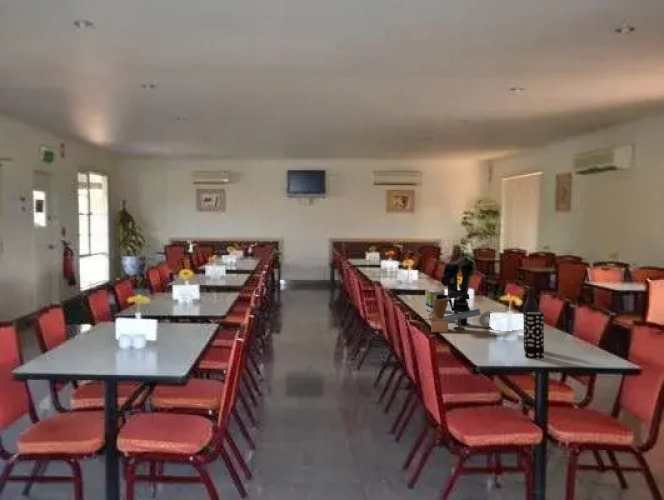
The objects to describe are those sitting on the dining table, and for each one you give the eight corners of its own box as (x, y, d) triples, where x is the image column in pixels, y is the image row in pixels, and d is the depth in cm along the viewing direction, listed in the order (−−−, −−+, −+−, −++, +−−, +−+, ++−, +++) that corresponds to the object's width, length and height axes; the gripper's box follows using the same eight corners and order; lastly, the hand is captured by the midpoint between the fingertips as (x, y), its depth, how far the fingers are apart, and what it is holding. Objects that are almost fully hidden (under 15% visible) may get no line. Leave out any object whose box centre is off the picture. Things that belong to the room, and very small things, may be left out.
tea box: (425, 310, 473) (424, 289, 472) (439, 309, 474) (438, 288, 473) (430, 313, 458) (430, 291, 457) (444, 312, 459) (444, 290, 459)
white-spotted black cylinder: (522, 355, 309) (521, 312, 309) (539, 354, 310) (539, 311, 309) (528, 359, 301) (528, 314, 300) (546, 358, 302) (546, 314, 301)
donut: (494, 327, 392) (494, 310, 392) (496, 327, 389) (496, 310, 389) (477, 327, 391) (477, 310, 390) (480, 328, 387) (480, 311, 387)
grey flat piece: (478, 311, 392) (477, 306, 392) (480, 315, 376) (479, 309, 376) (443, 318, 395) (442, 313, 395) (444, 322, 379) (442, 317, 379)
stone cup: (449, 321, 418) (449, 297, 417) (430, 321, 419) (429, 297, 418) (446, 318, 433) (446, 294, 432) (427, 318, 434) (427, 295, 433)
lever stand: (464, 328, 389) (464, 314, 389) (465, 332, 374) (465, 318, 374) (453, 328, 390) (453, 314, 390) (454, 332, 375) (454, 318, 375)
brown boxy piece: (447, 329, 388) (447, 315, 388) (448, 332, 378) (448, 318, 378) (431, 329, 390) (431, 315, 390) (431, 332, 379) (430, 318, 379)
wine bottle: (522, 349, 325) (521, 287, 323) (536, 348, 324) (536, 286, 323) (525, 351, 317) (525, 288, 316) (541, 351, 317) (540, 288, 316)
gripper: (436, 285, 384) (436, 313, 385) (469, 285, 382) (469, 313, 382) (436, 284, 395) (436, 310, 396) (468, 284, 393) (468, 310, 393)
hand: (452, 311), depth 392 cm, fingers closed
